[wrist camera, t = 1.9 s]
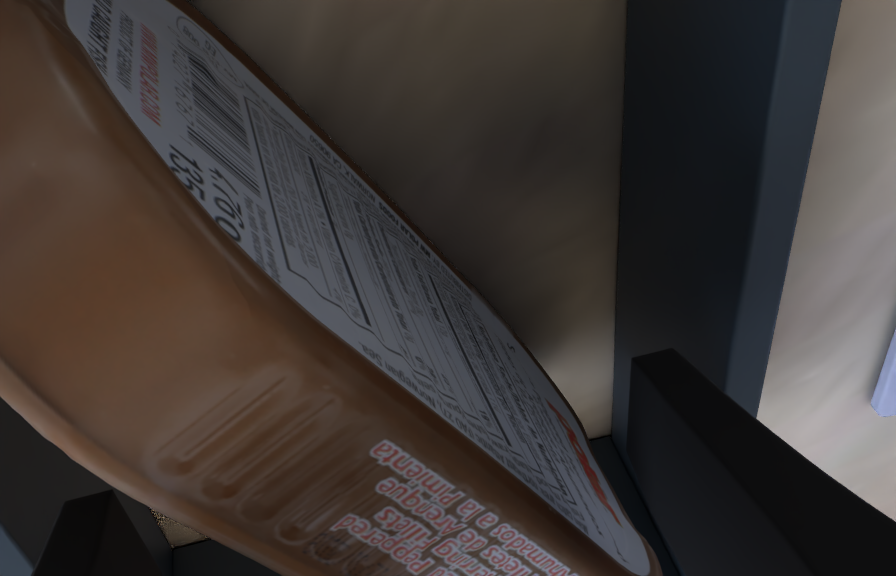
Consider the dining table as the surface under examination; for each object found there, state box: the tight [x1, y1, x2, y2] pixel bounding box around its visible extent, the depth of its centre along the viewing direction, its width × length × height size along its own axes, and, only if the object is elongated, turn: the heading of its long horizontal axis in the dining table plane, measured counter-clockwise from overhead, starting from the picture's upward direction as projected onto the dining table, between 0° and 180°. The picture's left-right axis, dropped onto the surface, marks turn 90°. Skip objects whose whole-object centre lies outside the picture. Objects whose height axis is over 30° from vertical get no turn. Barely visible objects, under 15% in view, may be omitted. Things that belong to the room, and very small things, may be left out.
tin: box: [0, 0, 663, 576], centre depth 14 cm, size 15×3×8 cm, turn 36°
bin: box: [0, 0, 842, 576], centre depth 15 cm, size 14×20×5 cm
